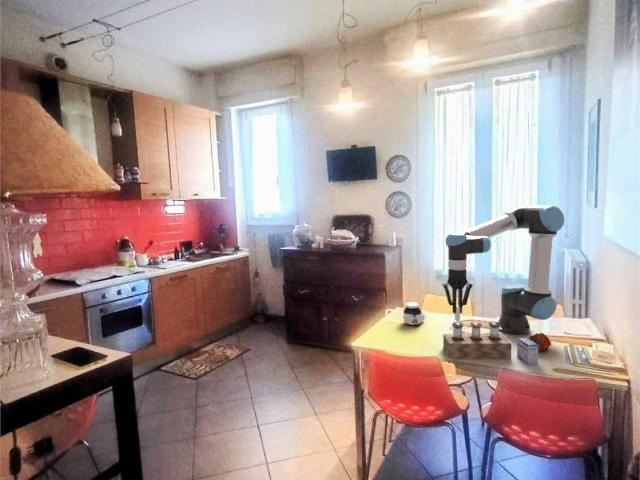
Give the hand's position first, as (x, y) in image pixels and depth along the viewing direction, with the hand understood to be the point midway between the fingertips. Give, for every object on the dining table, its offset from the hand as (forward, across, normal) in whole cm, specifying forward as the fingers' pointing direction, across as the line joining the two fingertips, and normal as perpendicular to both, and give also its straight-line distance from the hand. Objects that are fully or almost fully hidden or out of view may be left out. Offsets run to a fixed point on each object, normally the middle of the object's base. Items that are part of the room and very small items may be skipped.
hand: (457, 320), depth 172 cm
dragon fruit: (+16, -37, -4) cm, 41 cm away
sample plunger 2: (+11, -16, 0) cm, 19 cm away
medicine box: (+16, -27, +7) cm, 32 cm away
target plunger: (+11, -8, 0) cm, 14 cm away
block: (+16, -8, 0) cm, 18 cm away
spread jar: (+16, +13, -42) cm, 46 cm away
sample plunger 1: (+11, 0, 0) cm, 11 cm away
